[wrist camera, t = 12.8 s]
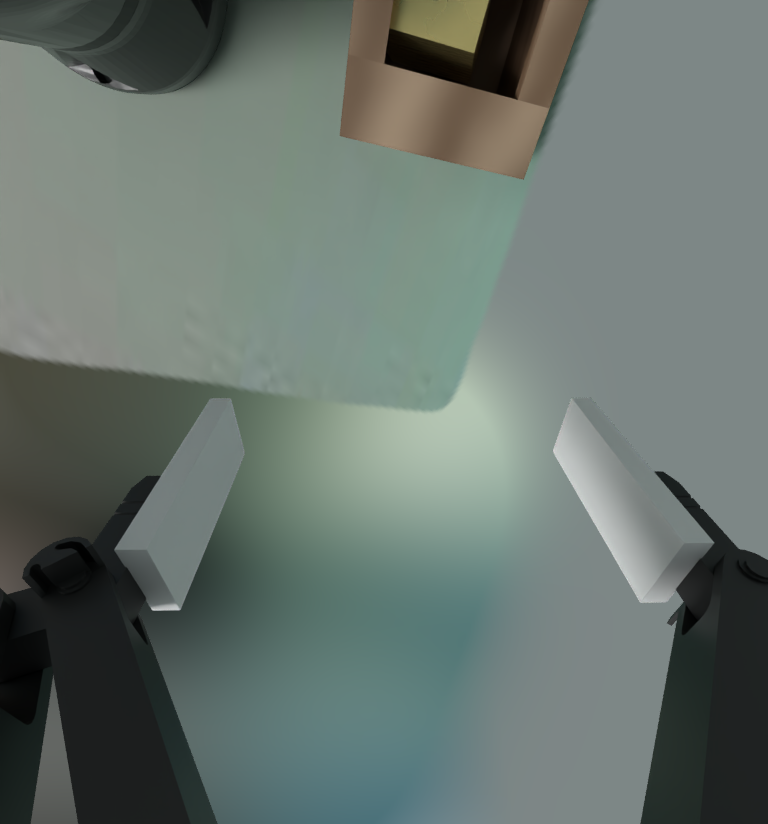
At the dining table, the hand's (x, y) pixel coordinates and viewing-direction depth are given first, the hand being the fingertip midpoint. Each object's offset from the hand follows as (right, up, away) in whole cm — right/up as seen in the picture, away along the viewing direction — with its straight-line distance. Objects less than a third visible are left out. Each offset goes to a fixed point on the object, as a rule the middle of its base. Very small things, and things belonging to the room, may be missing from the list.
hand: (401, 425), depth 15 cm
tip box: (+3, +28, +14) cm, 31 cm away
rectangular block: (+3, +27, +13) cm, 30 cm away
